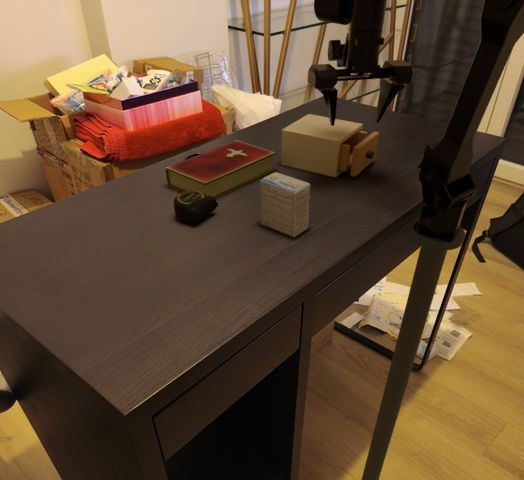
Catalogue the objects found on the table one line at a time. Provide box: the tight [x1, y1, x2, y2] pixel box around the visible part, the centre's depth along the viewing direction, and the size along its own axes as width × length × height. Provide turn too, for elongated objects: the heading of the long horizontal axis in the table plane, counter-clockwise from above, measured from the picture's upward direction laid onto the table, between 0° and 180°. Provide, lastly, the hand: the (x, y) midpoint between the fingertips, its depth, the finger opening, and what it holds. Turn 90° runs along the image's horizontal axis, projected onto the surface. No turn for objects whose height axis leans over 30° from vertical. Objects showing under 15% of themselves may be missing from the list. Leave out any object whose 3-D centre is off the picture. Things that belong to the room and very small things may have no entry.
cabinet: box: [280, 113, 364, 178], centre depth 107 cm, size 14×13×8 cm
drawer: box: [338, 130, 380, 177], centre depth 105 cm, size 14×11×6 cm
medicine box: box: [259, 171, 311, 238], centre depth 84 cm, size 8×4×9 cm, turn 49°
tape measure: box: [173, 191, 219, 223], centre depth 89 cm, size 7×7×4 cm
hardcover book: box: [165, 139, 277, 200], centre depth 102 cm, size 12×21×4 cm, turn 139°
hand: (354, 123), depth 93 cm, fingers open, 9 cm apart
